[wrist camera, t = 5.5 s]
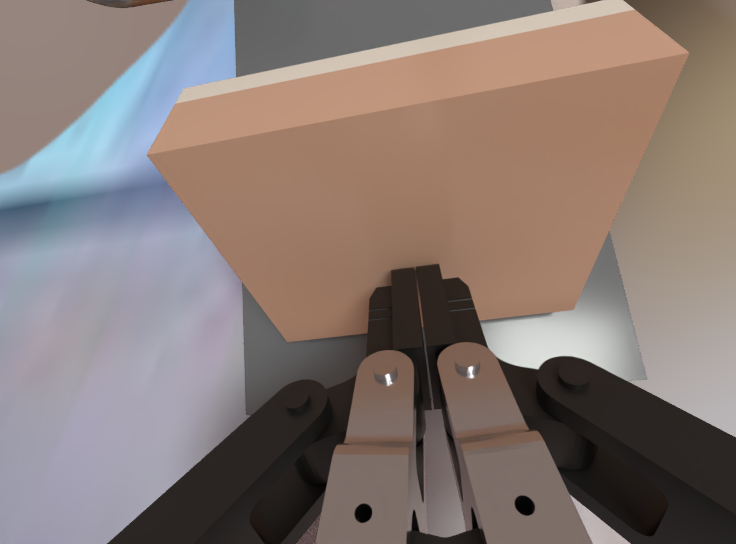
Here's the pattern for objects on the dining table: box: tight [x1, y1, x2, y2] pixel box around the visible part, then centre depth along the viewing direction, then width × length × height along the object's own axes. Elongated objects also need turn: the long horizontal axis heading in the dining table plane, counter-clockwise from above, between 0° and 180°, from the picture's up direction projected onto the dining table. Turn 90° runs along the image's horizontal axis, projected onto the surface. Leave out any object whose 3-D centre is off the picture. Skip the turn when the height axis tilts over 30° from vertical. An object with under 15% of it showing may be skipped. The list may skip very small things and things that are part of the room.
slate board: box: [234, 0, 647, 415], centre depth 18 cm, size 16×22×1 cm
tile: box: [147, 0, 689, 342], centre depth 12 cm, size 11×3×9 cm, turn 96°
